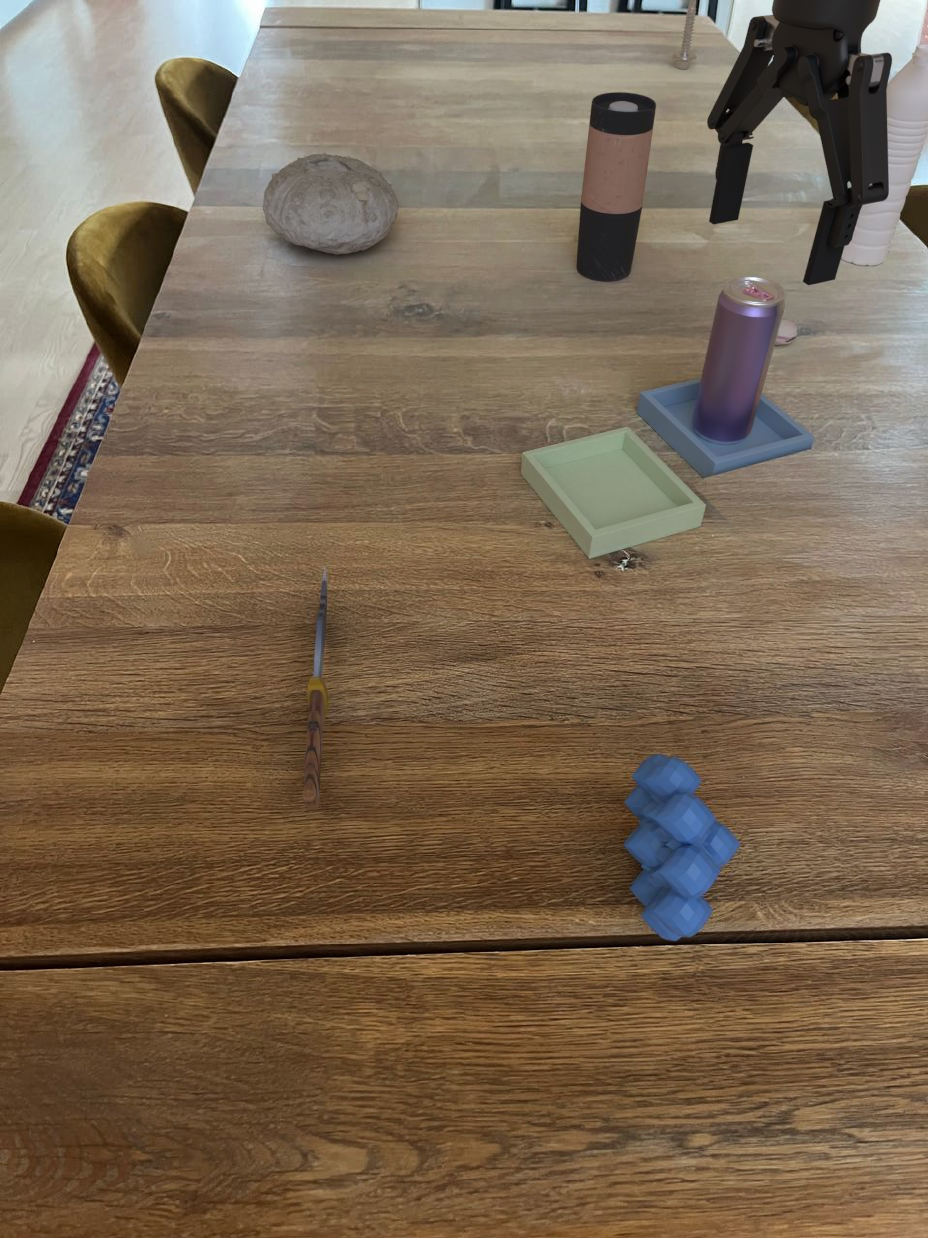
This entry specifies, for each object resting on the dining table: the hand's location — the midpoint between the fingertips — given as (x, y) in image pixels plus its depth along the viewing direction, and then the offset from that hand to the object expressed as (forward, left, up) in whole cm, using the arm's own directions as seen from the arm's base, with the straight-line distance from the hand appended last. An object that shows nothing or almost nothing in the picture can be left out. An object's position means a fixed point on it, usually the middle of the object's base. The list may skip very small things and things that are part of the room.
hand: (768, 249), depth 82 cm
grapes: (-42, +33, -19) cm, 57 cm away
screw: (+113, -69, -19) cm, 134 cm away
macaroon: (+14, -18, -19) cm, 30 cm away
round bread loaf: (+59, +22, -19) cm, 66 cm away
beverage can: (0, 0, -19) cm, 19 cm away
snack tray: (-5, +16, -19) cm, 26 cm away
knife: (-18, +48, -19) cm, 55 cm away
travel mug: (+38, -8, -19) cm, 44 cm away
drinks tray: (0, 0, -19) cm, 19 cm away
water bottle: (+28, -41, -19) cm, 54 cm away
